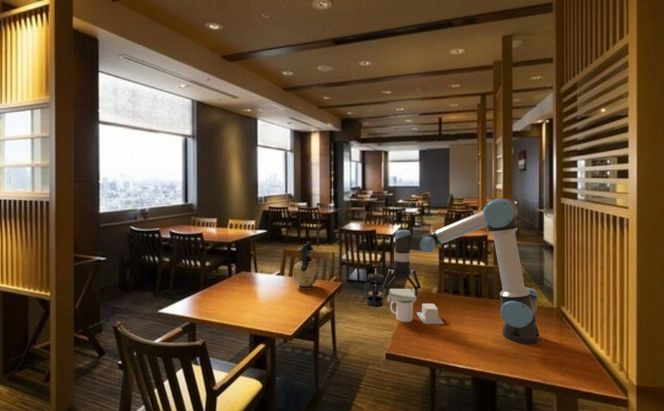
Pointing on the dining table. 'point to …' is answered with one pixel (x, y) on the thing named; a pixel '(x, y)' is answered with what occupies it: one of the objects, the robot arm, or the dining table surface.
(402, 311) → the cup
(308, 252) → the amphora
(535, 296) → the robot arm
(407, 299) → the white flat slab
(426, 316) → the white butter dish
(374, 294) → the french press
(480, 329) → the dining table surface
